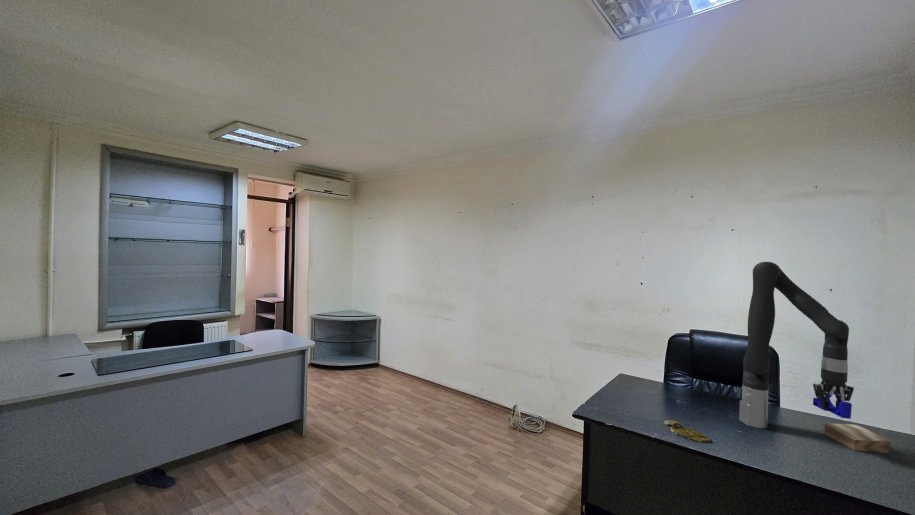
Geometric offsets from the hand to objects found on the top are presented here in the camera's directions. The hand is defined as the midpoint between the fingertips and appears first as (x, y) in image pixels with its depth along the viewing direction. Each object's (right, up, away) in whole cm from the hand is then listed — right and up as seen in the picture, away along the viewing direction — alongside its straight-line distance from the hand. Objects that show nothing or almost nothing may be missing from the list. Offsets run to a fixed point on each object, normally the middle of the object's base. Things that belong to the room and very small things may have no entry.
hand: (832, 409), depth 147 cm
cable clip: (0, -1, 0) cm, 1 cm away
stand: (+13, -15, +3) cm, 20 cm away
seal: (-54, -14, +6) cm, 56 cm away
